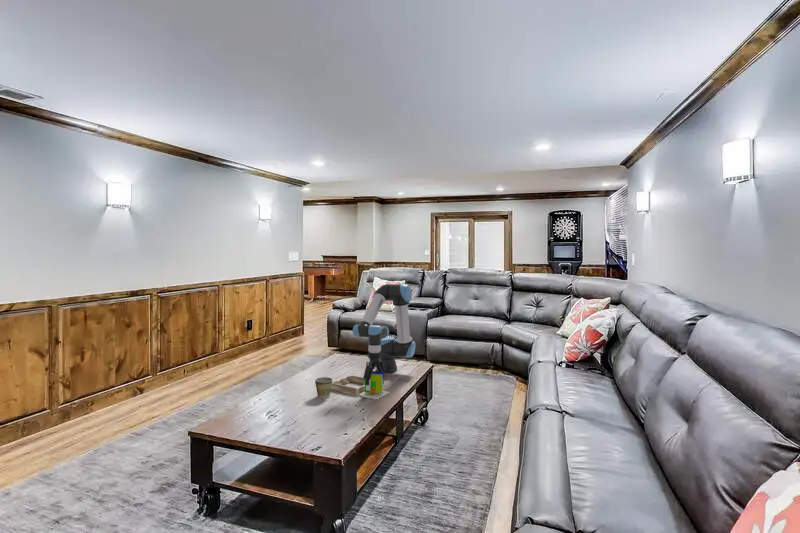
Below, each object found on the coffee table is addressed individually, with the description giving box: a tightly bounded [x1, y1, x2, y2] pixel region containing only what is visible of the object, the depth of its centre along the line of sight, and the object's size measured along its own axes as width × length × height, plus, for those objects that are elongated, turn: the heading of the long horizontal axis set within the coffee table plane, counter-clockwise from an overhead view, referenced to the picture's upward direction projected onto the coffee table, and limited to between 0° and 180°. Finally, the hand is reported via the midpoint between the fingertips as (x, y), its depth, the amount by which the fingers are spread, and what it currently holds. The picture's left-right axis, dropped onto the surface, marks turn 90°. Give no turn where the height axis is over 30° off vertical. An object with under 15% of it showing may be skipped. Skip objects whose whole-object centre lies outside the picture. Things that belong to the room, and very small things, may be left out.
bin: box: [331, 374, 365, 396], centre depth 271 cm, size 21×21×4 cm
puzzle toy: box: [364, 370, 385, 393], centre depth 258 cm, size 10×10×10 cm
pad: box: [358, 390, 390, 400], centre depth 258 cm, size 13×13×1 cm
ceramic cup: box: [314, 376, 333, 399], centre depth 256 cm, size 13×10×10 cm
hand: (374, 387), depth 258 cm, fingers closed on puzzle toy, 12 cm apart
